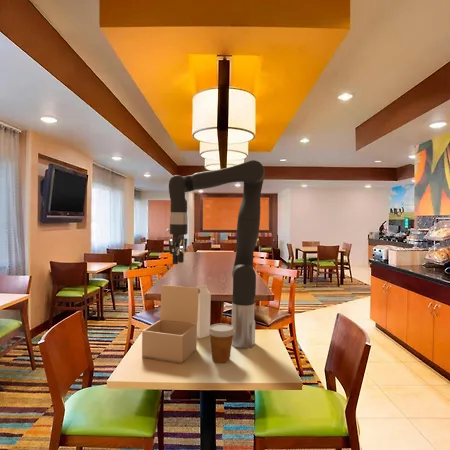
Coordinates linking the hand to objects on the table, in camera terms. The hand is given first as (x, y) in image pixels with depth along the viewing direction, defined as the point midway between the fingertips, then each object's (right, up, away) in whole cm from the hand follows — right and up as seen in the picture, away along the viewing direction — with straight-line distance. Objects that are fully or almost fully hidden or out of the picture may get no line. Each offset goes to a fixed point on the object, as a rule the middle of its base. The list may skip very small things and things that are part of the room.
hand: (178, 263), depth 144 cm
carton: (-1, -33, -14) cm, 36 cm away
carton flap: (+1, -16, -8) cm, 18 cm away
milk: (+9, -33, +5) cm, 34 cm away
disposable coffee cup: (+18, -34, -19) cm, 43 cm away
